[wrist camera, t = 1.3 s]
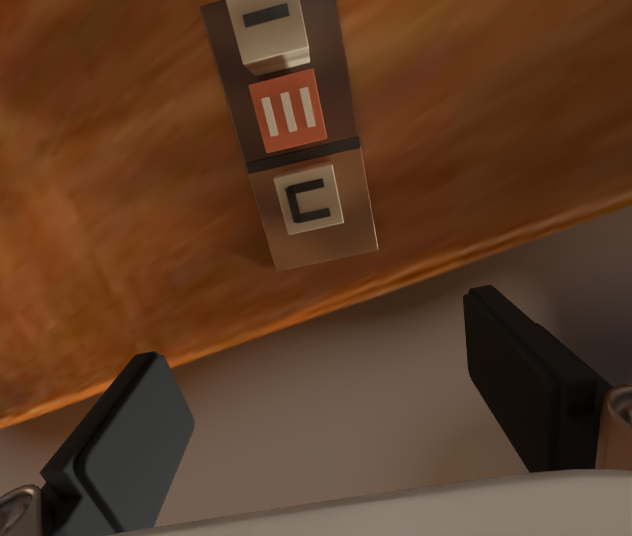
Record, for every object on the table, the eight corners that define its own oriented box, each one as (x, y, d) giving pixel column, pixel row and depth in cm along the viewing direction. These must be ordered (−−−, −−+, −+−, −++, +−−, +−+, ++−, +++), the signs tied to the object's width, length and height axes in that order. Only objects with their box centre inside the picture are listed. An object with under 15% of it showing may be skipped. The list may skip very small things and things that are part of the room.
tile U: (279, 171, 26) (272, 178, 22) (330, 160, 26) (332, 164, 22) (292, 220, 28) (288, 235, 24) (340, 210, 27) (344, 223, 23)
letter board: (202, 9, 23) (199, 6, 23) (330, -27, 22) (331, -31, 22) (277, 269, 30) (276, 272, 29) (377, 248, 29) (378, 250, 29)
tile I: (238, 10, 23) (220, -19, 18) (296, -6, 22) (291, -39, 18) (255, 76, 24) (242, 63, 20) (310, 62, 24) (308, 46, 19)
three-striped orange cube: (259, 93, 24) (247, 84, 20) (313, 79, 24) (313, 67, 20) (274, 150, 26) (266, 153, 22) (325, 138, 25) (327, 138, 21)
